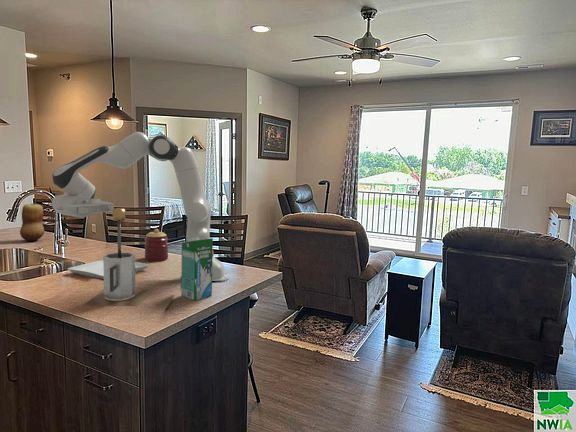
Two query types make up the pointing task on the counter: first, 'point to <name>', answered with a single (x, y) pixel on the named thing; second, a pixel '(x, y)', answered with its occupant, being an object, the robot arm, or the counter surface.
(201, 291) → the milk carton
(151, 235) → the canister
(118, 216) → the plunger
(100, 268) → the square plate
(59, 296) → the counter surface
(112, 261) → the press jug
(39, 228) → the butternut squash
